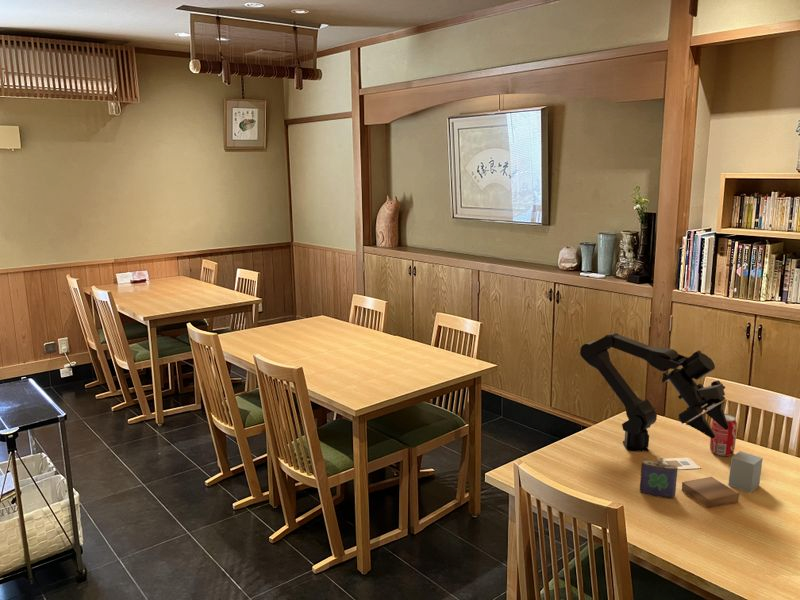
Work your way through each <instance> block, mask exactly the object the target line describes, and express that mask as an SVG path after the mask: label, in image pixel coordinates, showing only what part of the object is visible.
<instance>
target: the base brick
mask: <svg viewBox="0 0 800 600" xmlns="http://www.w3.org/2000/svg"><path fill="white" fill-rule="evenodd" d="M681 483H682V484H681V491H682V492H683V493H685V494H686V495H688V496H690V498H691V499H693V500H695V501H697V502H698V503H700V505H702V506H704V507H705V508H707V509H712V508H717V507H721V506H727V505H732V504H737V503H739V500H740V499H739V498H740V493H739V492H738V491H736V490H734V489H732V488H731V487H730V486H729V485H726V484H724V483H722V482H721V481H720V480H718V479H716V478H715V477H713V476H707V477H703V478H697V479H696V478H695V479H692V480H685V481H682V482H681Z"/></svg>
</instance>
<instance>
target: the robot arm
mask: <svg viewBox="0 0 800 600" xmlns="http://www.w3.org/2000/svg"><path fill="white" fill-rule="evenodd" d="M612 348H613V349H615V350H619V351H622V352H624V353H626V354H629V355H632V356H633V357H635V358H636V357H637V358H639V359H642V360H644V361H646V362H647V364H648V365H650V366H651V367H653V369H656V370H658V371H660V372H662V377H661V382H662V383H666V382H667V381H669V382H670V383H671V384H672V386H673V387H674V389H675V390H676V391H677V393H678V394H679V395H678V396H677V398H678V399H679V400H683V401H684V402H685V404H686V405H687V407H686V409H685V410H684V411H682V412H680V413H679V414H678V420H679V421H680V423H681V424H682V425H683V424H685V425H686V426H689V427H692V428H693V429H695V430H696V431H699V432H700V433H702V434H703V435H706V436H707V437H709V438H712V439H713V438H714V437H715V435H714V433H713V431H712V427H710V424H709V423H708V421H707V420H706V418H707V417H706V416H709V417H710V418H711V419H712V421H713V420H714V421H716V422H717V423H718V424H719V425H720V426H722V427H723V428H724V429H726V430H727V429H728V428H729V426H728V423H727V421H726V418H725V415H724V414H725V413H724V406H725V404H726V403H725V402H726V401H724V400H726V397H725V395H726V394H725V393H726V392H725V389H726V386H725V385H724V384H723V383H722V382H721V381H720V380H718V379H717V380H714V381H712V382H711V384H710V385H708V386H704V385H703V384H701V383H698V384H697V383H696V381H697V380H700V379H701V378H703V377H705V376H706V375H708V374H709V373H711V372H712V371H714V370H715V368H716V367H715V366H716V365H715V363H714V361H713V360H712V358H711V357H709V356H708V355H707V354H705V353H703V352H702V351H700V350H697V351H695V352H693V353H692V354H691V355H690V356H689V357H688V356H685V355H683V354H680V353H678V351H677V350H675V349H672V348H669V347H668V348H667V347H663V346H661V347H660V346H651V345H648V344H646V343H643V342H640V341H637V340H634V339H632V338H629V337H627V336H624V335H621V334H620V333H617V332H611V333H609V334H606V335H604V336H603V337H602V338H600V339H598V340H592V341H590V342H587V343H584V344H582V346H581V347H580V348H579V349H580V350H579V354H580V357H581V358H582V360H584V362H586V363H587V365H588V366H590V367H592V368H594V369H596V370H597V371H598V372H599V373H600V375H601V377H603V379H604V380H605V381H606V383H607V384H608V385H609V387H610V389H611V390H612V391H613V392H614V394H615V396H616V397H618V399H619V401H620V402H621V403H622V404H623V406H624V409H625V414H626V417H627V419H628V420H626V421H625V422H622V424H621V426H622V427H621V428H622V430H623V431H624V440H622V444H623V446H624V448H625V449H626V450H627V451H629V452H649V449H648V447H649V444H650V443H649V442H650V434H649V433H648V432H649V431H648V429H649V428H651V426H652V425H653V424H655V423H656V422H657V420H658V419H657V417H658V414H657V412H656V408H655V407H654V406H653V405H652V404H651V401H649V400H648V399H646V398H645V399H644V400H642V399H641V398H639V397H638V396H637V395H636V393H635V392H634V390H632V388H631V387H630V386H629V384H628V383H627V382H626V380H625V379H624V377H623V376H622V375H621V374H620V372H619V371H618V369H616V367H615V365H613V363H612V362H611V357H610V353H609V350H610V349H612ZM679 367H682V368H679ZM671 369H672V370H671ZM668 370H671V371H669V372H668ZM704 411H705V412H704ZM703 412H704V413H703Z"/></svg>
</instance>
